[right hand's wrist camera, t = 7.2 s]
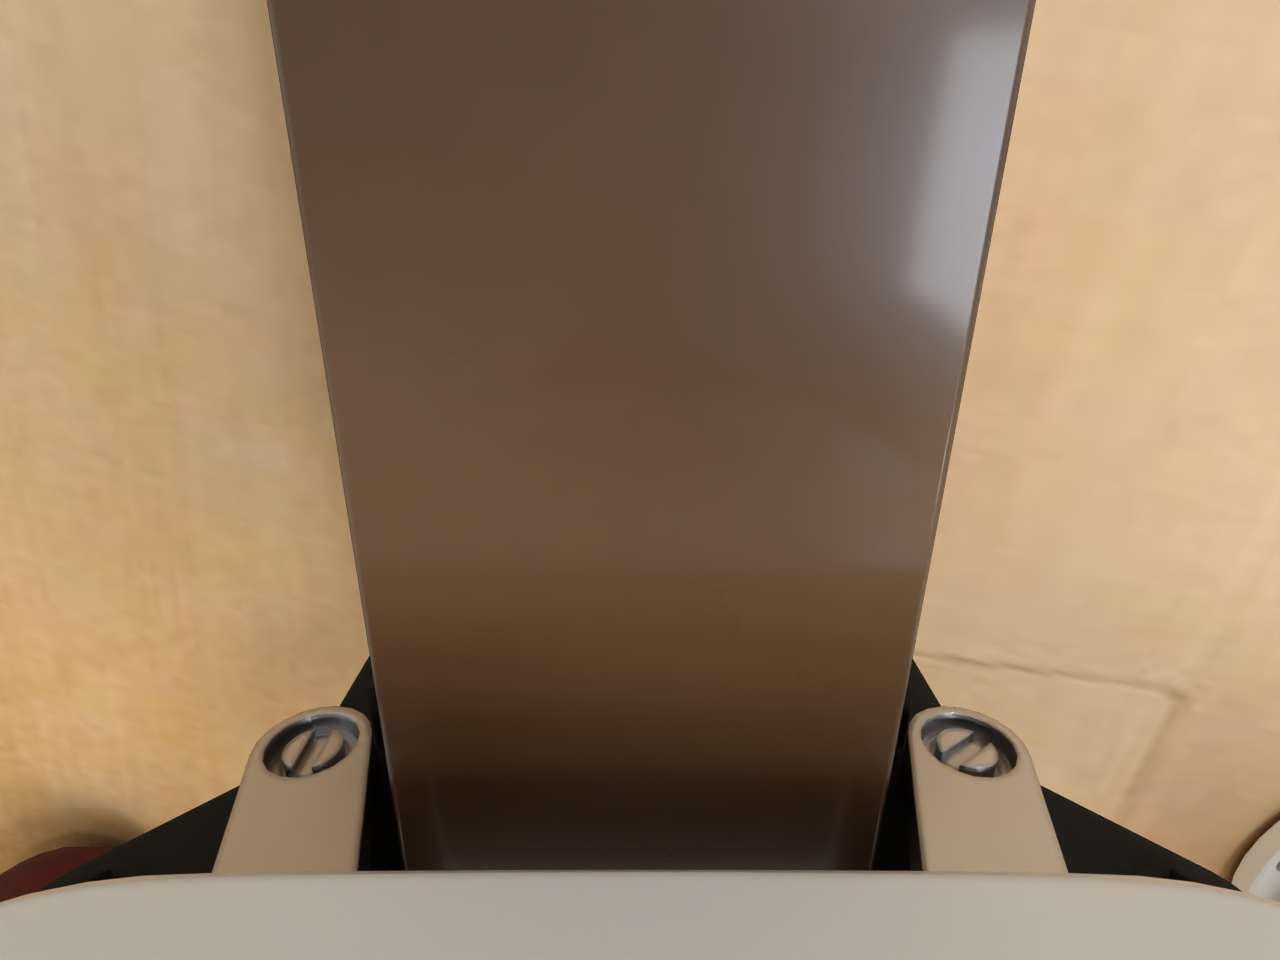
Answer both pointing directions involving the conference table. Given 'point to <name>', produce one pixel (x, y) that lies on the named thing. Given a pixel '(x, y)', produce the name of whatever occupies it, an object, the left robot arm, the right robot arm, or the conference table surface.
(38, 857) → the potato
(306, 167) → the bar
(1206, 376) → the conference table surface
